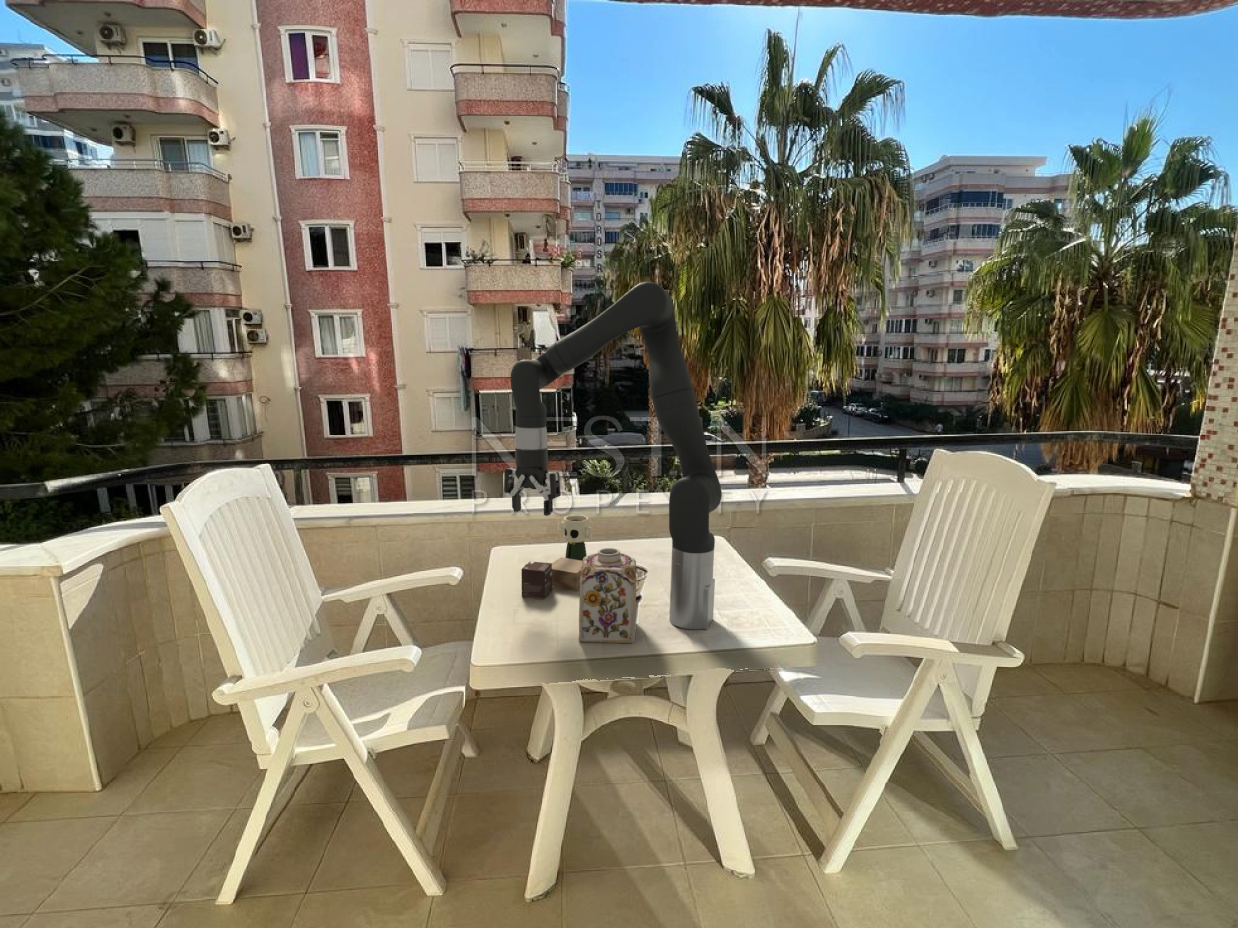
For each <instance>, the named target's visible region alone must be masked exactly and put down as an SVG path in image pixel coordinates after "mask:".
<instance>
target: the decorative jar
mask: <svg viewBox="0 0 1238 928" xmlns="http://www.w3.org/2000/svg"><path fill="white" fill-rule="evenodd" d="M636 566H637V561H636V559H635V558H633V557H632V556H630V555H628V554H625V553H621V550H619V549H618V548H613V547H607V548H606V547H605V548H602V549H601V548H600V549H599V550H598V552H597V553H593V554H589V555H586V557H584V558H583V560H582V567H581V569H582V570H581V573H580V579H579V580H580V589H579V601H578V602H579V609H578V641H579V642H581V643H606V644H607V643H609V644H634V643H635V640H636V638H635V637H636V635H635V633H636V622H637V621H636V618H637V617H636V613H637V612H636V609H637V608H636V607H637V606H636V605H637V568H636Z"/></svg>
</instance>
